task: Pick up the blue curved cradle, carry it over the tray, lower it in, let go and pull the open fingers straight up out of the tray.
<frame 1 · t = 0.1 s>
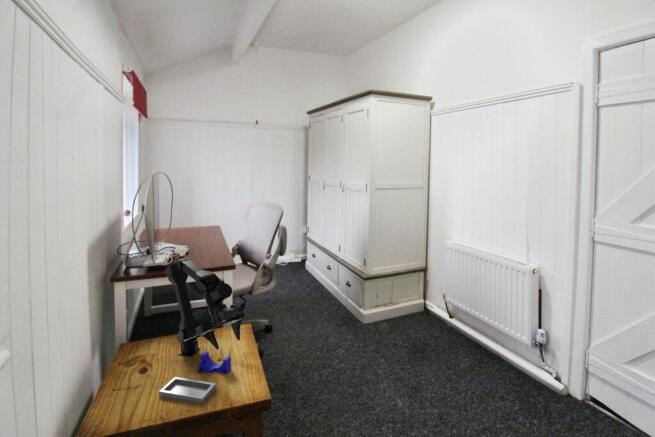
hand: (228, 344, 138), 15 cm above the table, tool tilted 30°, fingers open, 9 cm apart
blue curved cradle: (215, 371, 147), on the table
tray: (188, 392, 133), on the table
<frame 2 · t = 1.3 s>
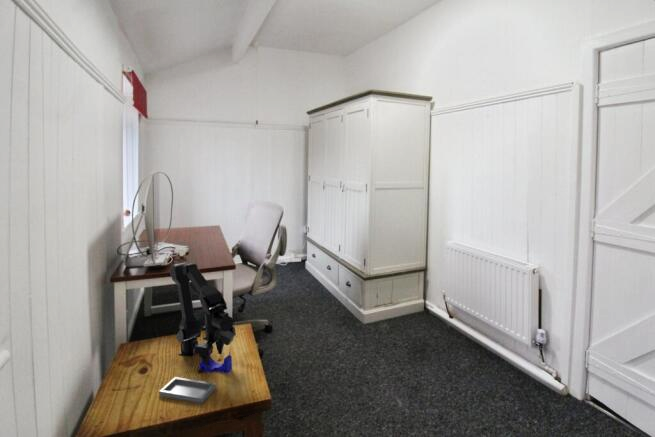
hand: (214, 359, 146), 4 cm above the table, tool pointing down, fingers open, 9 cm apart
nothing on the table moved.
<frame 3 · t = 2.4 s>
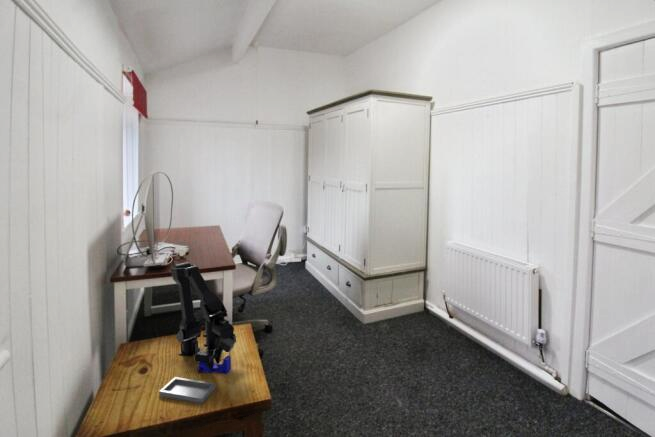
hand: (214, 366, 147), 1 cm above the table, tool pointing down, fingers closed on blue curved cradle, 5 cm apart
blue curved cradle: (214, 370, 147), on the table, touching gripper
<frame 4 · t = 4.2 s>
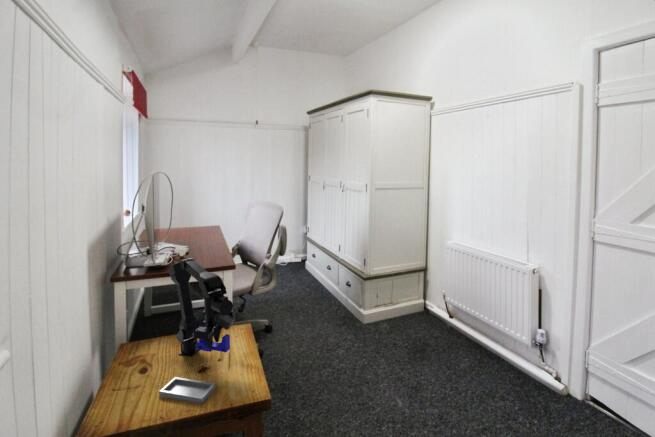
hand: (213, 345, 145), 11 cm above the table, tool pointing down, fingers closed on blue curved cradle, 5 cm apart
blue curved cradle: (213, 349, 145), point 9 cm above the table, touching gripper
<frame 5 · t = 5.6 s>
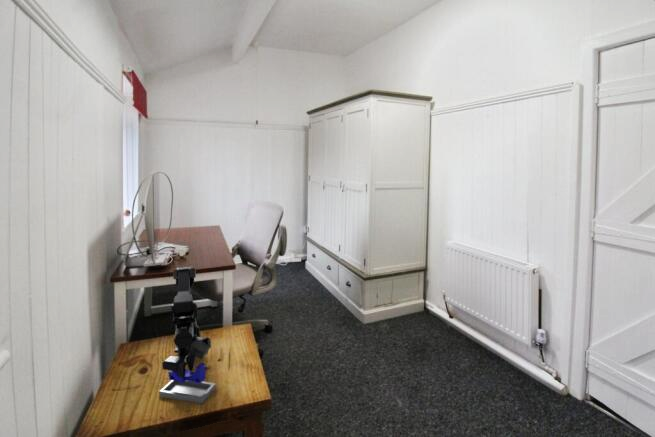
hand: (187, 374, 132), 7 cm above the table, tool pointing down, fingers closed on blue curved cradle, 5 cm apart
blue curved cradle: (187, 379, 132), point 5 cm above the table, touching gripper
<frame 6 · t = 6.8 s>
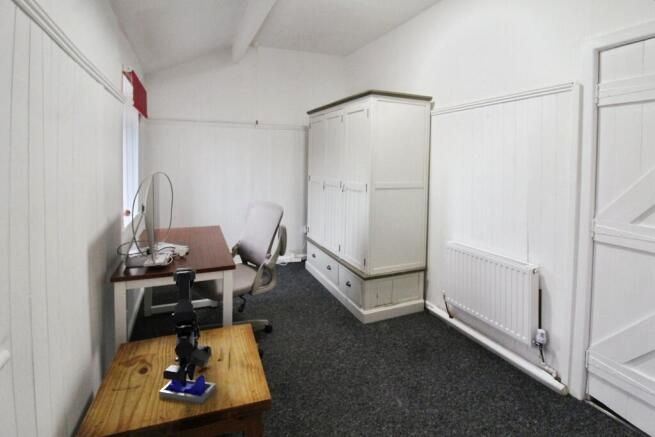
hand: (187, 383, 132), 4 cm above the table, tool pointing down, fingers closed on blue curved cradle, 4 cm apart
blue curved cradle: (187, 391, 133), resting on tray, touching gripper
when the fingers open (4 cm above the table, at t = 7.0 s): blue curved cradle stays where it is, resting on tray.
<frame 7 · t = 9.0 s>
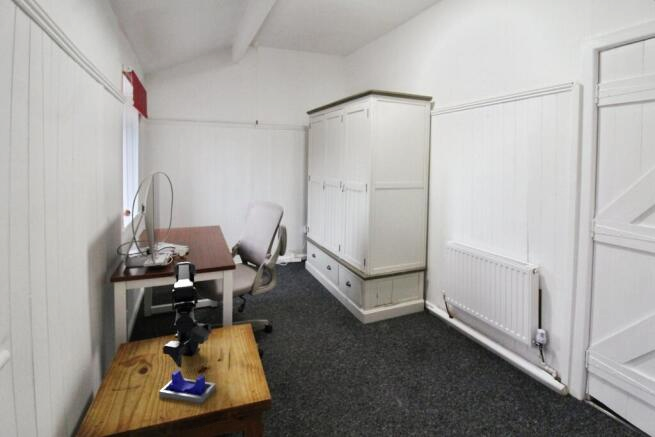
hand: (187, 360, 132), 12 cm above the table, tool pointing down, fingers open, 9 cm apart
blue curved cradle: (187, 391, 133), resting on tray
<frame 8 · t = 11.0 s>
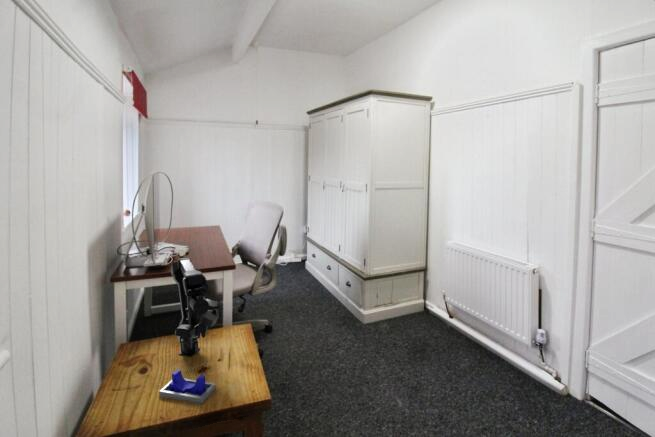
hand: (197, 342, 144), 12 cm above the table, tool pointing down, fingers open, 9 cm apart
nothing on the table moved.
at the end: blue curved cradle 0.2 cm off-centre on the tray, point 0.3 cm above the tray's base; the gripper is holding nothing; blue curved cradle tilted 0° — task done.
